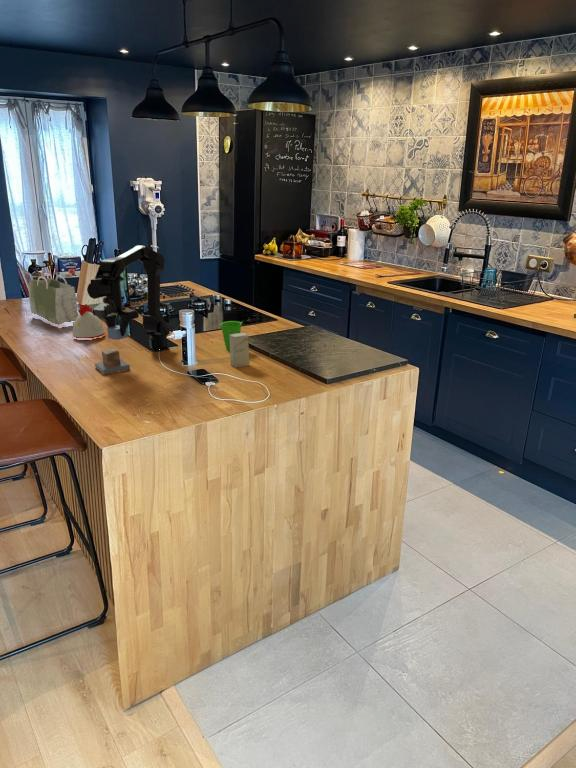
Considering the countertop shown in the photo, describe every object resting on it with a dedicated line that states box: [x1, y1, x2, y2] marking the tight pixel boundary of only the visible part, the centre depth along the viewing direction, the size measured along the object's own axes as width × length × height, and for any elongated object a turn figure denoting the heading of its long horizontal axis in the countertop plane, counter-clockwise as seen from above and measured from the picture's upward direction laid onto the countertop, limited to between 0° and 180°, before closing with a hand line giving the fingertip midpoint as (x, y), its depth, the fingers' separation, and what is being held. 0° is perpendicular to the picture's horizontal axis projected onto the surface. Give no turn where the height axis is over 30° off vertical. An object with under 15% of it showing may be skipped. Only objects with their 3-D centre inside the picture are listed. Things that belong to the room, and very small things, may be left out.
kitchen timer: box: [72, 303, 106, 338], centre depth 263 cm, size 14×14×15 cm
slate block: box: [106, 324, 128, 341], centre depth 221 cm, size 5×5×4 cm
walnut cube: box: [101, 348, 121, 367], centre depth 220 cm, size 5×5×5 cm
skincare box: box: [229, 332, 250, 368], centre depth 221 cm, size 6×4×12 cm
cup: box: [219, 320, 243, 352], centre depth 241 cm, size 9×9×11 cm
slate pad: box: [94, 357, 131, 375], centre depth 222 cm, size 10×10×2 cm
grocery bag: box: [28, 274, 79, 325], centre depth 291 cm, size 32×14×23 cm, turn 45°
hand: (117, 335), depth 221 cm, fingers closed on slate block, 5 cm apart
